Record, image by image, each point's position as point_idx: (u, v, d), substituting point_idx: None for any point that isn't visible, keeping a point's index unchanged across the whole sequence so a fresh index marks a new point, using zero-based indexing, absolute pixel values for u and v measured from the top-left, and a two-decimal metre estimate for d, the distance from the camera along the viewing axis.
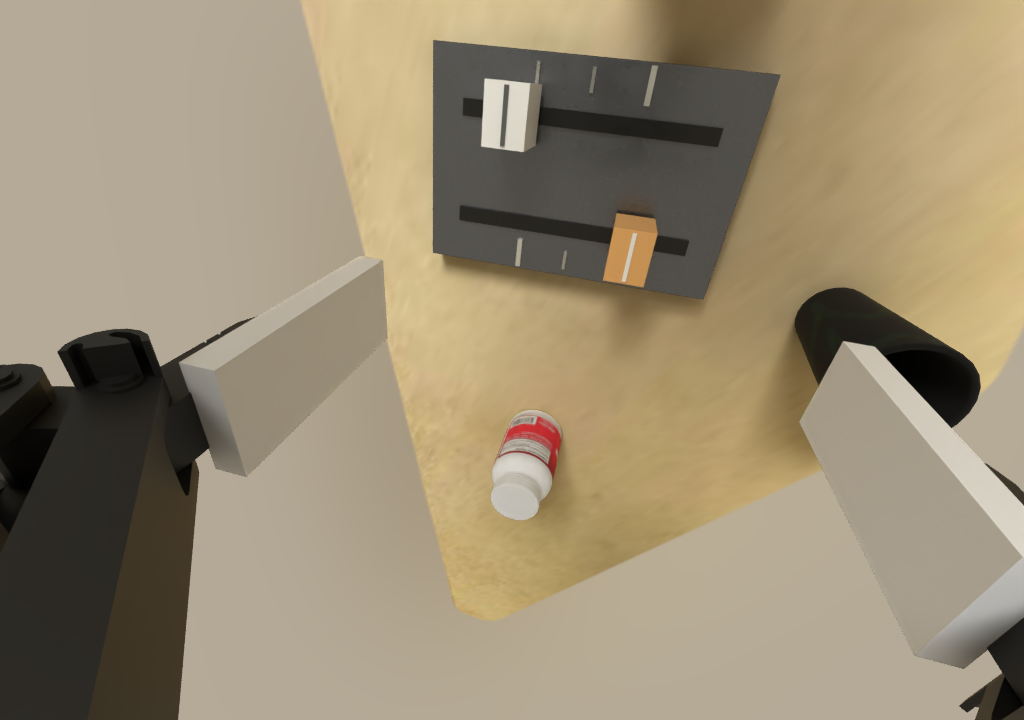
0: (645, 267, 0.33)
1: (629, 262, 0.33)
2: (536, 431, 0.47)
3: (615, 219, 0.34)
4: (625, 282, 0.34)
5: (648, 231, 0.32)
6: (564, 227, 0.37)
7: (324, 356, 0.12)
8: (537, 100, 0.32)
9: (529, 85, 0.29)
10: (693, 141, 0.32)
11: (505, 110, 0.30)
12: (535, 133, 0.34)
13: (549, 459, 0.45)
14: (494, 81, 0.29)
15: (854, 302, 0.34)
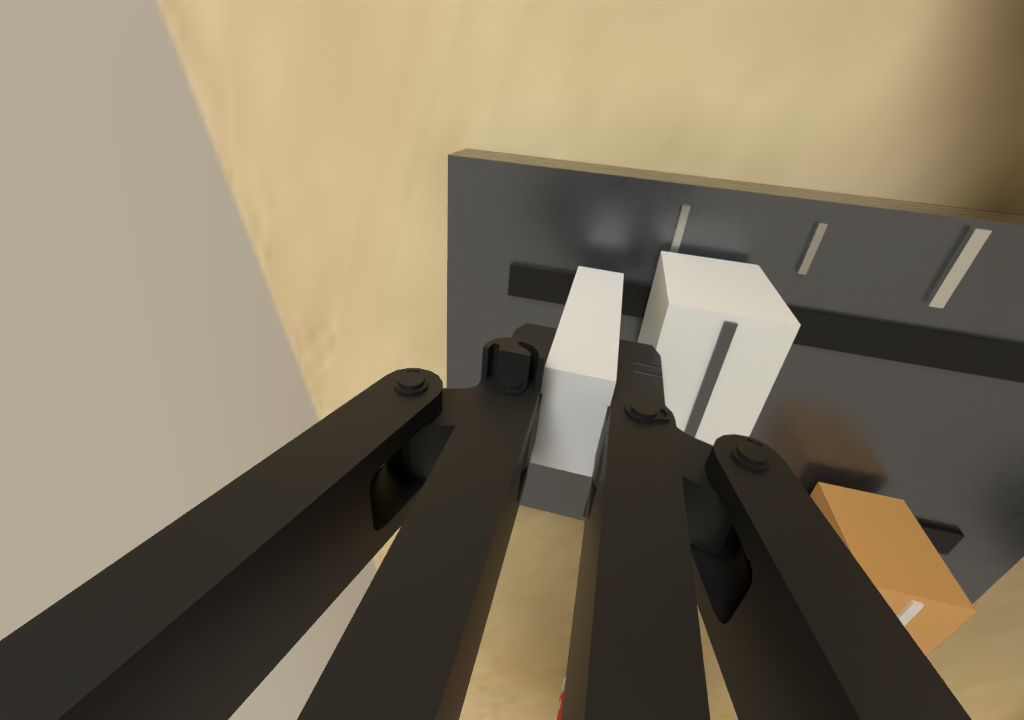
0: None
1: None
2: None
3: (839, 526, 0.16)
4: None
5: (948, 598, 0.14)
6: None
7: None
8: None
9: (795, 327, 0.11)
10: None
11: (713, 372, 0.12)
12: None
13: None
14: (695, 312, 0.11)
15: None
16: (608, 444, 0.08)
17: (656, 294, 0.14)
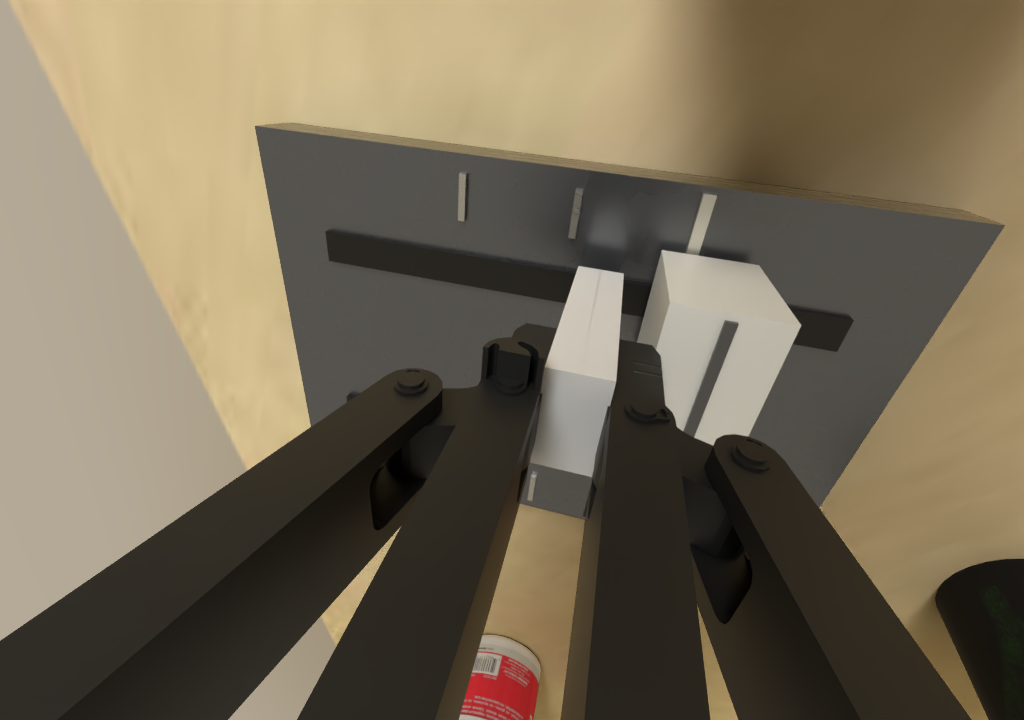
0: None
1: None
2: (498, 695, 0.30)
3: None
4: None
5: None
6: None
7: None
8: None
9: (796, 327, 0.11)
10: None
11: (713, 372, 0.12)
12: None
13: None
14: (696, 311, 0.11)
15: None
16: (608, 444, 0.08)
17: (657, 293, 0.14)
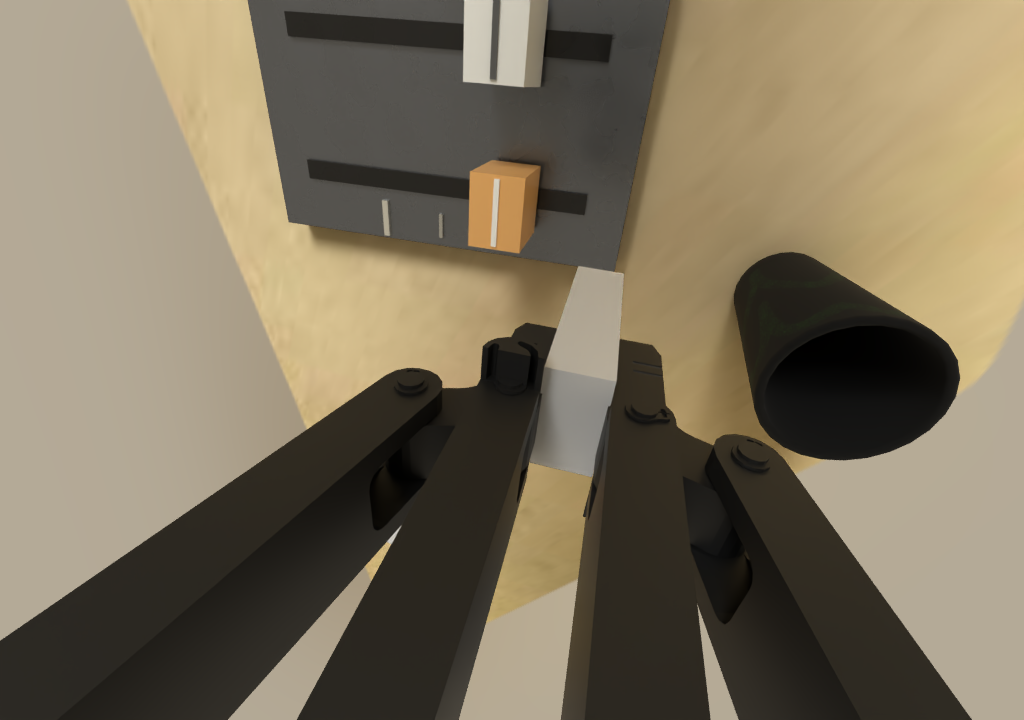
0: (517, 226, 0.25)
1: (497, 219, 0.25)
2: None
3: (482, 165, 0.26)
4: (496, 247, 0.26)
5: (515, 176, 0.24)
6: (434, 182, 0.29)
7: None
8: (542, 16, 0.22)
9: None
10: (576, 55, 0.24)
11: (496, 23, 0.20)
12: (540, 67, 0.24)
13: None
14: None
15: (798, 268, 0.25)
16: (608, 444, 0.08)
17: None
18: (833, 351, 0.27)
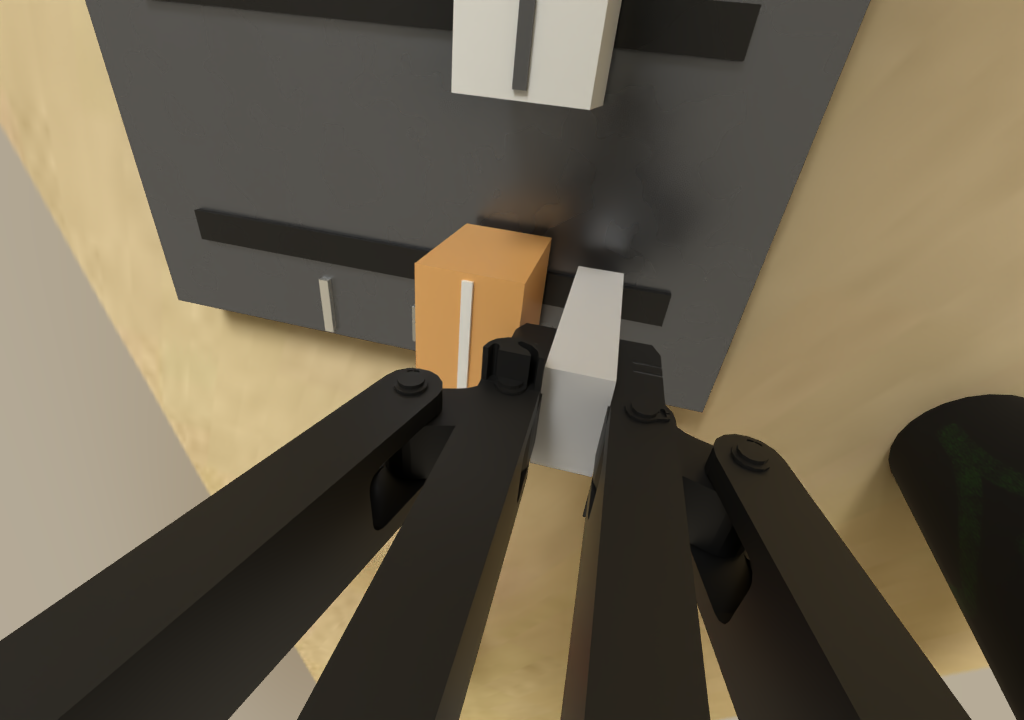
0: None
1: (468, 350, 0.13)
2: None
3: (444, 240, 0.14)
4: None
5: (503, 276, 0.12)
6: (403, 258, 0.17)
7: None
8: None
9: None
10: (679, 46, 0.12)
11: None
12: (608, 67, 0.12)
13: None
14: None
15: None
16: (608, 444, 0.08)
17: None
18: None
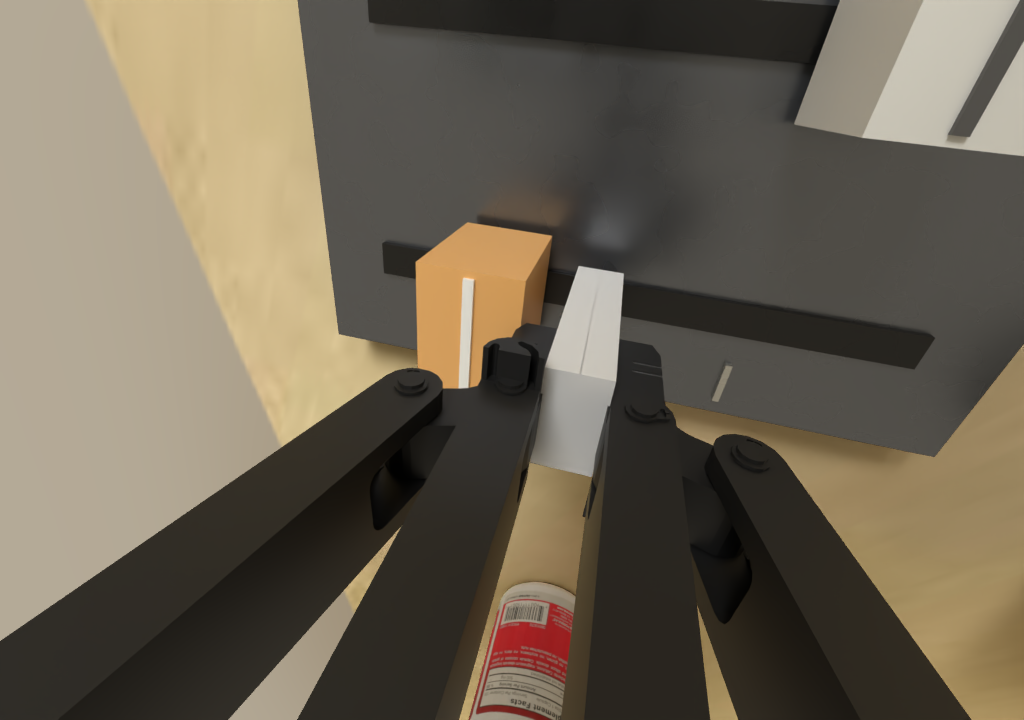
0: None
1: (470, 348, 0.13)
2: (549, 645, 0.25)
3: (445, 239, 0.14)
4: None
5: (504, 274, 0.12)
6: None
7: None
8: None
9: None
10: None
11: None
12: None
13: None
14: None
15: None
16: (608, 444, 0.08)
17: None
18: None
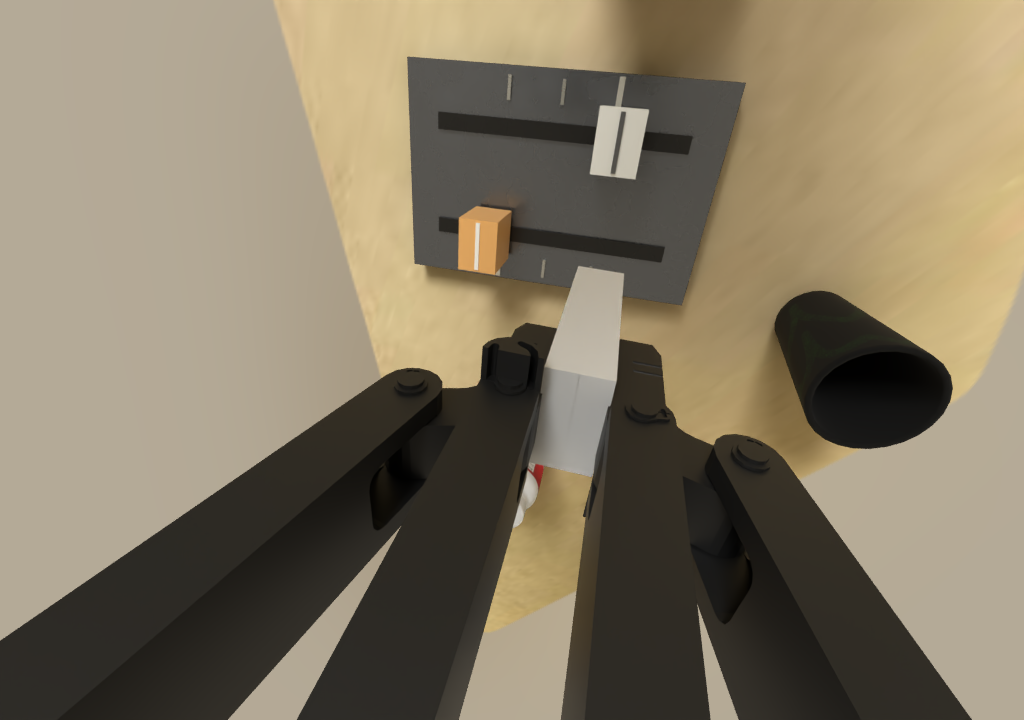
0: (493, 255, 0.35)
1: (478, 250, 0.35)
2: None
3: (468, 211, 0.36)
4: (478, 270, 0.35)
5: (490, 221, 0.34)
6: (541, 236, 0.38)
7: None
8: None
9: (648, 112, 0.28)
10: (664, 149, 0.33)
11: (619, 137, 0.29)
12: None
13: (534, 468, 0.45)
14: (610, 108, 0.28)
15: (830, 305, 0.34)
16: (608, 444, 0.08)
17: None
18: (856, 368, 0.35)
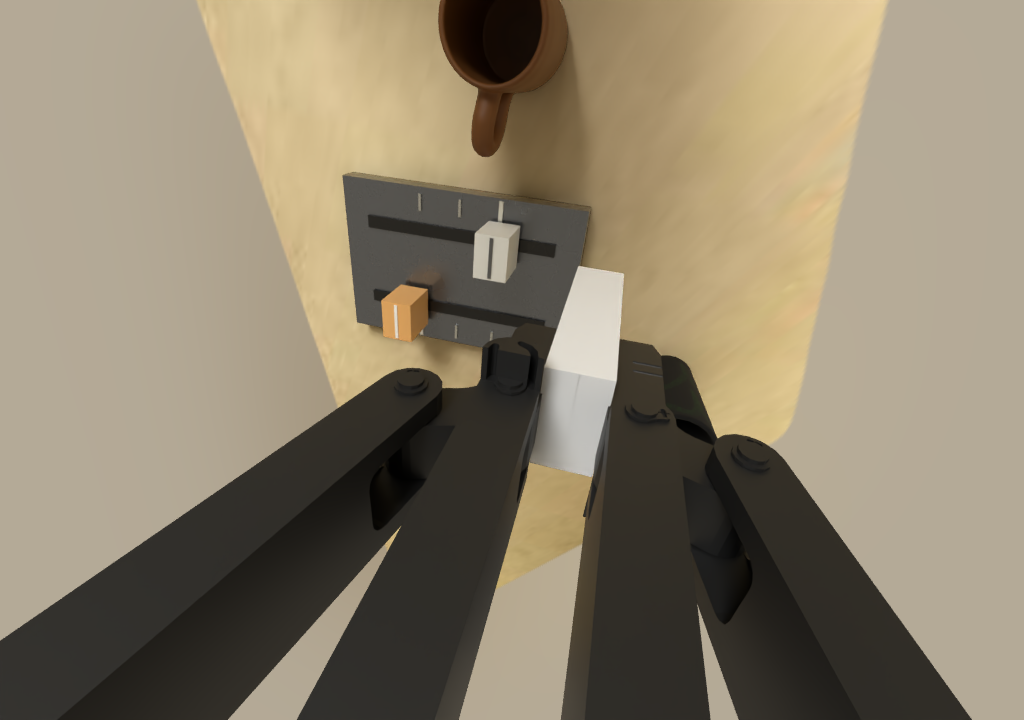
0: (408, 328, 0.45)
1: (397, 324, 0.45)
2: None
3: (391, 292, 0.46)
4: (398, 338, 0.46)
5: (405, 303, 0.44)
6: (452, 308, 0.48)
7: None
8: (516, 239, 0.41)
9: (508, 239, 0.38)
10: (536, 253, 0.43)
11: (491, 254, 0.39)
12: (515, 260, 0.43)
13: None
14: (482, 235, 0.38)
15: (663, 371, 0.44)
16: (608, 444, 0.08)
17: None
18: None
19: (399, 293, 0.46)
